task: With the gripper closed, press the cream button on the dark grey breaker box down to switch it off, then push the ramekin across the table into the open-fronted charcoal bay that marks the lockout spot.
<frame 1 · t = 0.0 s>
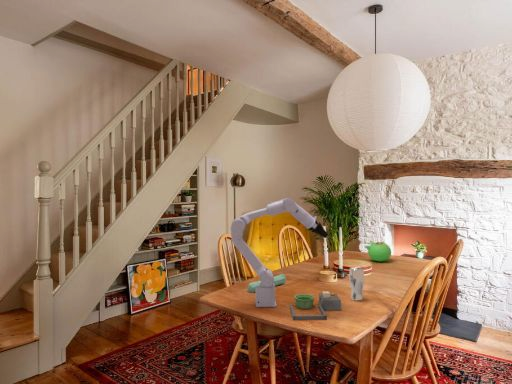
hand: (325, 235, 160), 32 cm above the table, tool tilted 50°, fingers open, 7 cm apart
teal cylinder: (266, 288, 187), on the table
beer glass: (356, 299, 166), on the table
breaker button: (326, 295, 156), point 5 cm above the table, slide at 0.0 cm
breaker box: (329, 306, 156), on the table
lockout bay: (307, 313, 147), on the table
gravy boat: (378, 261, 250), on the table
ramekin: (304, 306, 157), on the table
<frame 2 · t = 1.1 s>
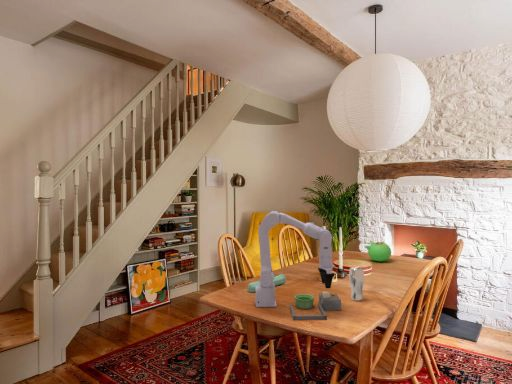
hand: (326, 285, 156), 10 cm above the table, tool pointing down, fingers open, 7 cm apart
nothing on the table moved.
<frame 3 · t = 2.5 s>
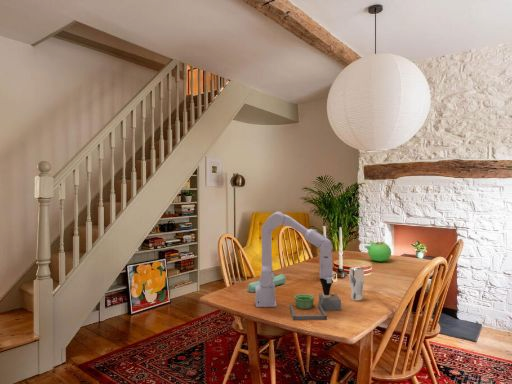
hand: (326, 294, 156), 5 cm above the table, tool pointing down, fingers closed, pressing on breaker button
breaker button: (326, 297, 156), point 4 cm above the table, slide at 1.1 cm, touching gripper
everything else where it was.
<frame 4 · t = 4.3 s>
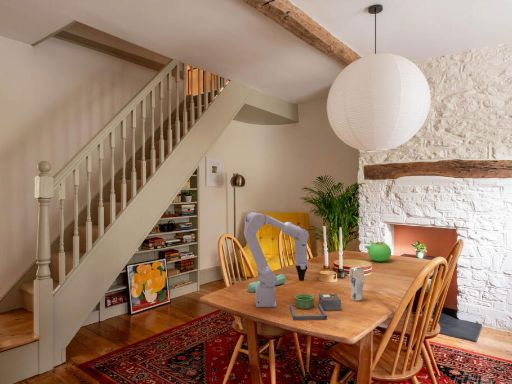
hand: (301, 280, 166), 9 cm above the table, tool pointing down, fingers closed
breaker button: (326, 298, 156), point 4 cm above the table, slide at 1.5 cm
everything else where it was.
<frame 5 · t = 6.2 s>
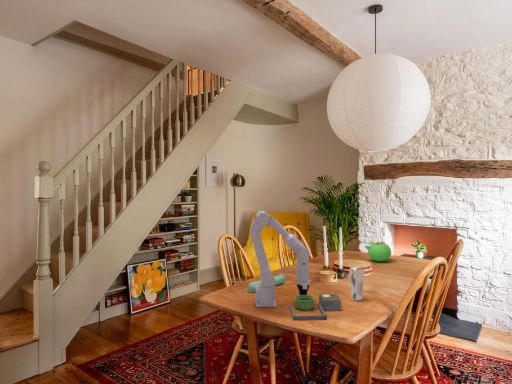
hand: (303, 300, 161), 1 cm above the table, tool pointing down, fingers closed
ramekin: (304, 307, 155), on the table, touching gripper
everything else where it was.
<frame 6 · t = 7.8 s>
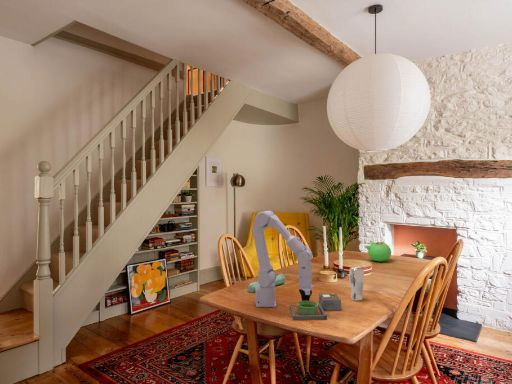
hand: (305, 306, 153), 1 cm above the table, tool pointing down, fingers closed
ramekin: (307, 314, 147), resting in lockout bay, touching gripper
everything else where it was.
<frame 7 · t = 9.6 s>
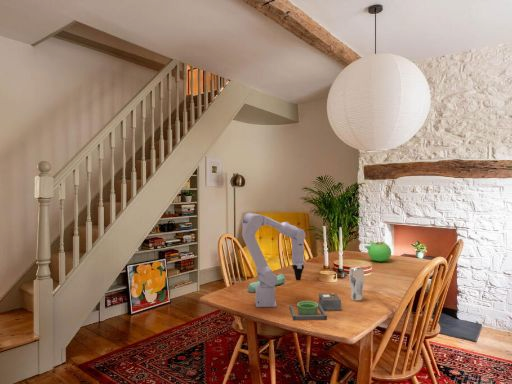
hand: (298, 280, 167), 9 cm above the table, tool pointing down, fingers closed
ramekin: (307, 314, 147), resting in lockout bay
everything else where it was.
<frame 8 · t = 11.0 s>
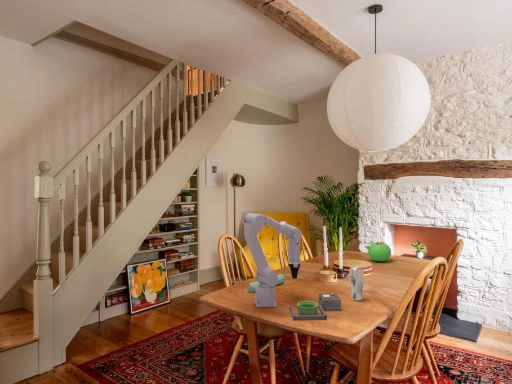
hand: (294, 278, 170), 9 cm above the table, tool pointing down, fingers closed
nothing on the table moved.
at the end: breaker button slide at 1.5 cm; ramekin inside the target area (0.2 cm from its centre), resting in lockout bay; ramekin tilted 0° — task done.
